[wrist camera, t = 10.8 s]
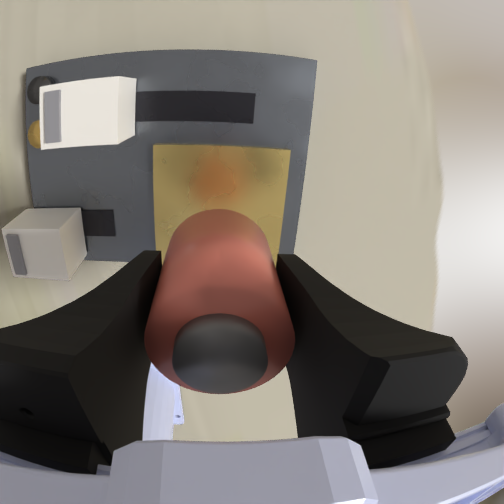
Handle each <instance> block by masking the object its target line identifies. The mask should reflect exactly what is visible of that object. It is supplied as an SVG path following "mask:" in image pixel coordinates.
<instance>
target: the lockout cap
mask: <svg viewBox="0 0 504 504" xmlns="http://www.w3.org/2000/svg"><path fill="white" fill-rule="evenodd" d="M144 343H145V349H146V352H147V355H148V357H149V359H150V361H151V362H152V364H153V365H154V366H155V368H156V369H157V370H158V371H159V372H160V373H161V374H162V375H164V376H165V377H166V378H168V379H169V380H171V381H172V382H174V383H176V384H178V385H180V386H182V387H185V388H187V389H190V390H194V391H198V392H203V393H210V394H229V393H237V392H242V391H246V390H249V389H252V388H255V387H257V386H260V385H262V384H264V383H266V382H267V381H269V380H270V379H272V378H273V377H275V376H276V375H277V374H278V373H279V372H280V371H281V370H282V369H283V368H284V367H285V366H286V364H287V363H288V361H289V360H290V358H291V356H292V354H293V350H294V346H295V332H294V328H293V325H292V321H291V318H290V314H289V311H288V308H287V304H286V301H285V297H284V294H283V291H282V287H281V284H280V281H279V277H278V274H277V271H276V267H275V264H274V261H273V258H272V254H271V251H270V248H269V244H268V241H267V239H266V236H265V234H264V233H263V231H262V230H261V228H260V227H259V226H258V225H257V224H256V223H255V222H254V221H253V220H251V219H250V218H248V217H247V216H245V215H243V214H241V213H238V212H235V211H232V210H227V209H211V210H205V211H202V212H199V213H196V214H194V215H192V216H190V217H189V218H187V219H186V220H185V221H183V222H182V223H181V224H180V225H179V226H178V227H177V229H176V230H175V231H174V233H173V235H172V237H171V239H170V242H169V245H168V249H167V252H166V255H165V259H164V262H163V265H162V269H161V272H160V276H159V280H158V283H157V287H156V290H155V294H154V298H153V301H152V305H151V309H150V313H149V317H148V321H147V325H146V329H145V334H144Z"/></svg>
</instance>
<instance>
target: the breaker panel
mask: <svg viewBox="0 0 504 504" xmlns="http://www.w3.org/2000/svg"><path fill="white" fill-rule="evenodd" d="M316 69H317V60H312V59H306V58H299V57H292V56H284V55H276V54H267V53H256V52H244V51H227V50H153V51H137V52H124V53H114V54H105V55H97V56H90V57H83V58H76V59H70V60H65V61H59V62H54V63H49V64H44V65H40V66H35V67H31V68H27V70H26V137H27V153H28V165H29V175H30V183H31V191H32V199H33V206H34V209H35V208H81V215H82V223H83V230H84V237H85V244H86V250H87V255H86V257H85V258H84V260H94V261H121V262H130V261H131V260H132V259H134V258H135V257H136V256H137V255H139V254H140V253H141V252H142V251H144V250H157V251H161V255H162V265H163V262H164V259H165V255H166V252H167V249H168V245H169V242H170V239H171V237H172V235H173V233H174V231H175V230H176V229H177V227H178V226H179V225H180V224H181V223H182V222H183V221H185V220H186V219H187V218H189V217H190V216H192V215H194V214H196V213H199V212H202V211H205V210H211V209H227V210H232V211H235V212H238V213H241V214H243V215H245V216H247V217H248V218H250V219H251V220H253V221H254V222H255V223H256V224H257V225H258V226H259V227H260V228H261V230H262V231H263V233H264V234H265V236H266V239H267V241H268V244H269V248H270V251H271V254H272V258H273V261H274V264H275V267H276V262H277V254H293V253H294V247H295V240H296V233H297V226H298V219H299V212H300V205H301V198H302V190H303V183H304V175H305V167H306V160H307V151H308V143H309V135H310V126H311V117H312V108H313V99H314V89H315V79H316ZM114 76H122V77H129V78H136V102H135V135H134V136H132V137H130V138H128V139H127V140H125V141H123V142H121V143H119V144H113V145H93V146H78V147H65V148H54V149H44V150H41V141H40V87H42V86H47V85H53V84H59V83H65V82H72V81H79V80H86V79H95V78H104V77H114Z"/></svg>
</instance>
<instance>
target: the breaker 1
mask: <svg viewBox="0 0 504 504" xmlns="http://www.w3.org/2000/svg"><path fill="white" fill-rule="evenodd" d="M1 230H2V234H3V239H4V243H5V247H6V251H7V255H8V259H9V263H10V266H11V270H12V273H13V277H23V278H36V279H50V280H65V281H70V279H71V277H72V276H73V274H74V273H75V271H76V270H77V268H78V267H79V265H80V264H81V263H82V261H83V260H84V258H85V257H86V255H87V250H86V244H85V237H84V230H83V223H82V215H81V208H35V209H26V210H24V211H23V212H22V213H20V214H19V215H18V216H17V217H15V218H14V219H13V220H12V221H10V222H9V223H8V224H7V225H5V226H4V227H3V228H2V229H1Z"/></svg>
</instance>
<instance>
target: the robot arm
mask: <svg viewBox="0 0 504 504" xmlns="http://www.w3.org/2000/svg"><path fill="white" fill-rule="evenodd" d="M161 269H162V255H161V251H157V250H144V251H142V252H141V253H140V254H139V255H137V256H136V257H135V258H134V259H132V260H131V261H130V262H129V263H128V264H126V265H125V266H124V267H123V268H121V269H120V270H119V271H118V272H116V273H115V274H114V275H113V276H111V277H110V278H108V279H107V280H106V281H104V282H103V283H102V284H100V285H99V286H97V287H96V288H95V289H93V290H91V291H90V292H88V293H87V294H85V295H83V296H82V297H80V298H78V299H77V300H75V301H73V302H71V303H69V304H67V305H65V306H63V307H61V308H58V309H56V310H54V311H52V312H50V313H48V314H45V315H43V316H40V317H38V318H35V319H32V320H29V321H26V322H23V323H20V324H16V325H12V326H9V327H5V328H1V329H0V504H477V503H479V502H481V501H483V500H484V499H486V498H488V497H489V496H491V495H493V494H494V493H496V492H497V491H499V490H500V489H502V488H504V403H502V404H500V405H499V406H497V407H496V408H495V409H494V410H493V411H492V412H491V413H490V414H489V416H488V417H487V418H486V420H485V422H482V423H480V424H478V425H475V426H473V427H470V428H468V429H465V430H463V431H460V432H457V433H455V434H454V433H453V431H452V429H451V427H450V425H449V423H448V421H447V420H446V418H448V417H449V416H450V411H449V409H448V407H447V405H446V403H447V402H448V401H449V399H450V398H451V396H452V395H453V394H454V392H455V391H456V389H457V388H458V386H459V385H460V383H461V381H462V380H463V378H464V376H465V374H466V370H467V366H468V361H467V357H466V356H465V354H464V353H463V351H462V350H461V348H460V347H459V346H458V344H457V343H456V342H455V340H454V339H453V338H452V337H449V336H445V335H441V334H437V333H433V332H429V331H425V330H422V329H419V328H416V327H413V326H410V325H407V324H404V323H402V322H399V321H397V320H394V319H392V318H390V317H388V316H385V315H383V314H381V313H379V312H377V311H375V310H373V309H371V308H369V307H367V306H365V305H364V304H362V303H360V302H358V301H357V300H355V299H353V298H352V297H350V296H349V295H347V294H346V293H344V292H343V291H341V290H340V289H338V288H337V287H336V286H334V285H333V284H332V283H330V282H329V281H328V280H326V279H325V278H324V277H322V276H321V275H320V274H319V273H317V272H316V271H315V270H314V269H313V268H311V267H310V266H309V265H308V264H307V263H305V262H304V261H303V260H302V259H300V258H299V257H298V256H296V255H295V254H277V262H276V271H277V274H278V277H279V281H280V284H281V287H282V291H283V294H284V297H285V301H286V304H287V308H288V311H289V314H290V318H291V321H292V325H293V328H294V332H295V346H294V350H293V354H292V356H291V358H290V360H289V361H288V363H287V364H286V368H287V371H288V375H289V379H290V384H291V390H292V397H293V403H294V410H295V418H296V425H297V433H298V438H293V439H281V440H266V441H241V442H202V441H177V440H173V425H174V424H183V423H184V415H183V408H182V401H181V393H180V386H179V385H178V384H176V383H174V382H172V381H171V380H169V379H168V378H166V377H165V376H164V375H162V374H161V373H160V372H159V371H158V370H157V369H156V368H155V366H154V365H153V364H152V362H151V361H150V359H149V357H148V355H147V352H146V349H145V343H144V334H145V329H146V325H147V321H148V317H149V313H150V309H151V305H152V301H153V298H154V294H155V290H156V287H157V283H158V280H159V276H160V272H161Z"/></svg>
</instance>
